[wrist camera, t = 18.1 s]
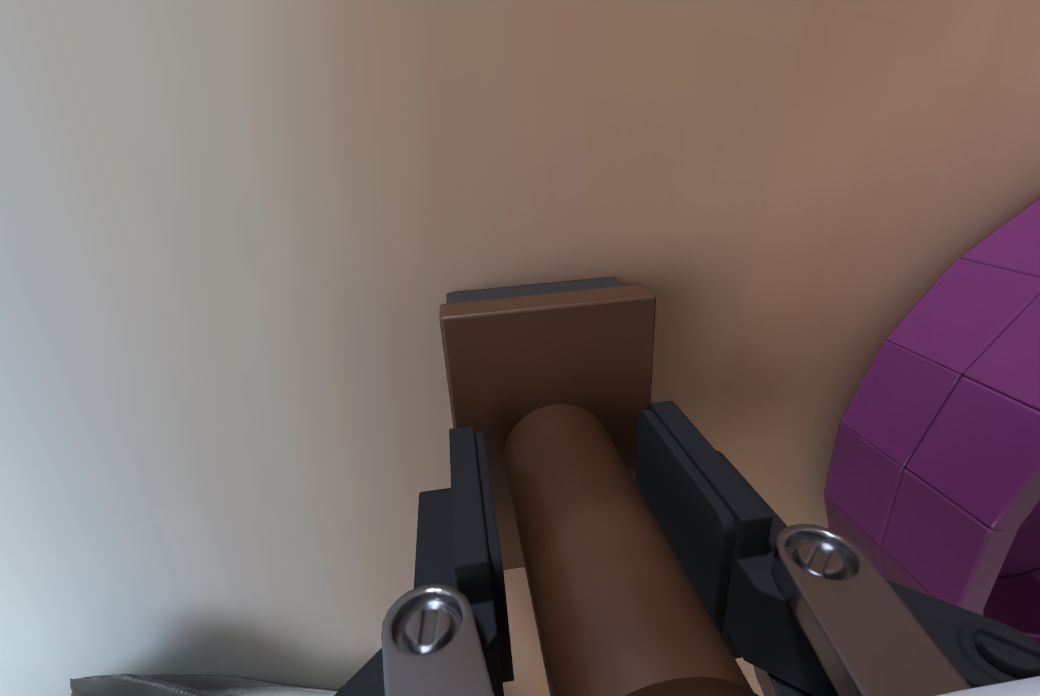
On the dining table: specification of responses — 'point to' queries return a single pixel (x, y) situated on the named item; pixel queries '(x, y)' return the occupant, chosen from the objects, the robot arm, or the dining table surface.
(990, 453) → the bowl
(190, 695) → the salad plate
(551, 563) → the wall coat peg
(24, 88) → the dining table surface
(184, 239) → the dining table surface
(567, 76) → the dining table surface
